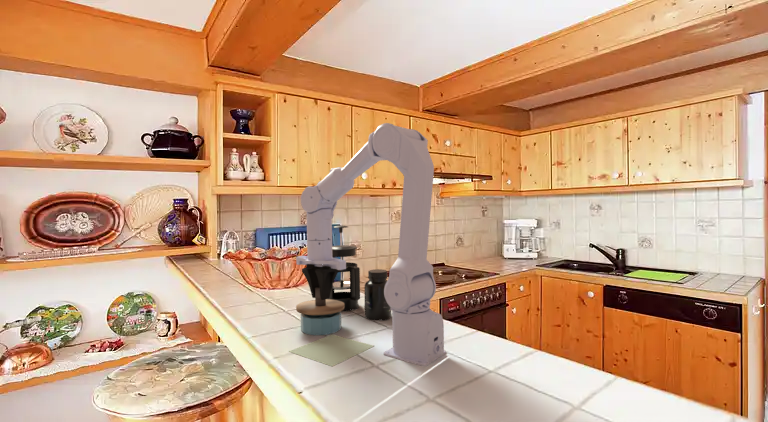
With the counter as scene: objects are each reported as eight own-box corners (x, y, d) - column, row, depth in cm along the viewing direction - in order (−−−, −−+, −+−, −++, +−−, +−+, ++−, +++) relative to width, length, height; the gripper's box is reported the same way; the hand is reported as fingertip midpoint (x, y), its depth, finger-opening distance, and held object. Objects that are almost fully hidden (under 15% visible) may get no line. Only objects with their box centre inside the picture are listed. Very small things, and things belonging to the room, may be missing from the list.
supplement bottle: (359, 319, 98) (358, 272, 98) (373, 312, 104) (372, 267, 104) (383, 323, 95) (383, 273, 94) (396, 315, 101) (395, 269, 100)
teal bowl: (348, 328, 92) (348, 311, 91) (321, 339, 84) (321, 321, 84) (320, 322, 97) (320, 306, 97) (293, 332, 89) (293, 314, 89)
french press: (316, 307, 110) (315, 226, 109) (341, 300, 117) (340, 224, 116) (345, 314, 102) (344, 227, 101) (370, 307, 109) (368, 225, 108)
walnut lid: (353, 306, 92) (353, 286, 92) (322, 317, 83) (321, 295, 82) (319, 300, 98) (319, 281, 98) (286, 310, 89) (285, 289, 89)
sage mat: (374, 347, 79) (374, 345, 79) (332, 367, 69) (332, 366, 69) (332, 335, 86) (332, 334, 86) (288, 352, 77) (288, 351, 77)
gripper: (285, 239, 91) (286, 297, 91) (329, 242, 82) (330, 306, 83) (308, 237, 97) (309, 291, 97) (351, 239, 88) (352, 299, 88)
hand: (320, 297), depth 90 cm, fingers closed on walnut lid, 2 cm apart
